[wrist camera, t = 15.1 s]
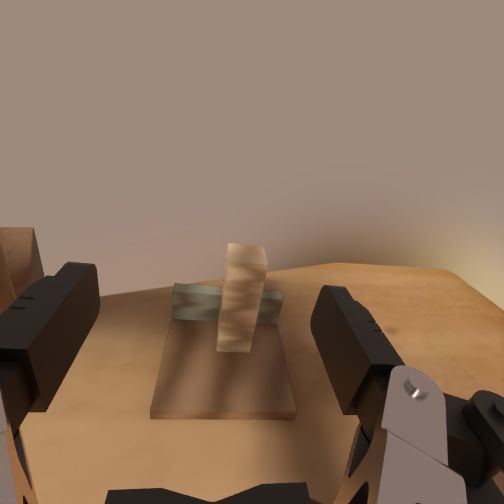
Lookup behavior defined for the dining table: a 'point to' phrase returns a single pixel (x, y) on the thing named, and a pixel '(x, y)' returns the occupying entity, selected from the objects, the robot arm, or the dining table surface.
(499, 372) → the dining table surface
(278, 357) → the floor board
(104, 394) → the dining table surface
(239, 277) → the batten
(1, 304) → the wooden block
